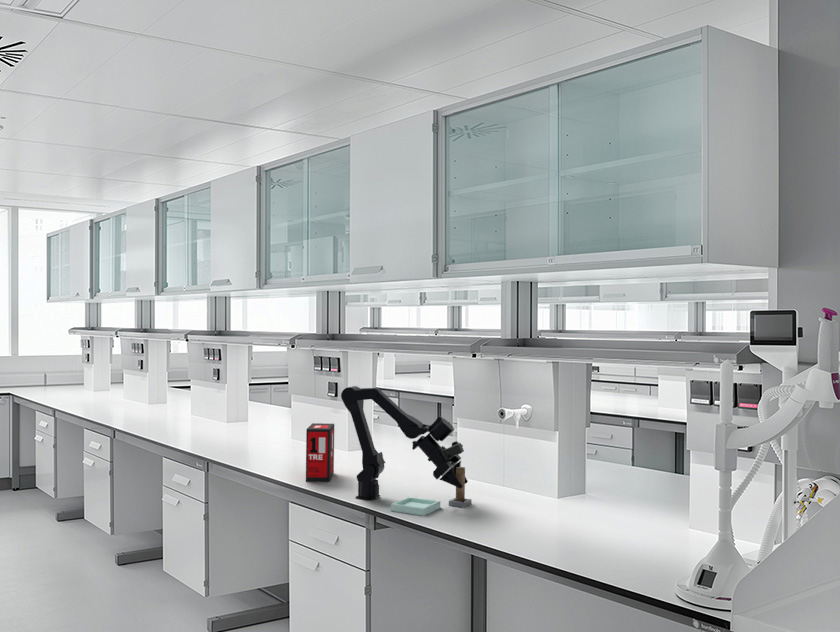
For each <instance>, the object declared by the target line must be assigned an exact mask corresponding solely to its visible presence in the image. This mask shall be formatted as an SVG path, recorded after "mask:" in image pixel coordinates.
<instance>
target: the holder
mask: <svg viewBox="0 0 840 632" xmlns="http://www.w3.org/2000/svg"><path fill="white" fill-rule="evenodd" d="M470 505H472V499H471V498H465V501H464V502H460V501H456V497H453V498H451V499H449V500H448V506H449V507H456V508H463V509H465V508H467V507H469V506H470Z"/></svg>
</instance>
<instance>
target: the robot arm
mask: <svg viewBox="0 0 840 632" xmlns="http://www.w3.org/2000/svg"><path fill="white" fill-rule="evenodd" d="M340 394H341V395H340V398H341V401H342V402H343V405H344V407H345V408H346V409H347V411H348V412H349V413H350V415H351V419H352V422H353V425H354V428H355V432H356V436H357V438H358V442H359V446H360V449H361V452H362V453H361V454H362V455H361V456H362V457H361V458H362V460H361V465H362V469H361V471H360V472H359V473H357V475H356V480H357V482H358V483H357V495H356V496H355V499H361V500H368V501H372V500H375V499H378V498H380V497H381V494H380V484H379V480H378V478H379V476H380V474H382V473H383V472H384V470H385V464H386V460H385V459H384V454H383V452H382V451H381V452H378V451H377V450H376V447H375V445H374V442H373V438H372V434H371V431H370V428H369V424H368V421H367V418H366V415H365V411H364V401H366V400H372V401H373V402H375V403H376V405H377V406H379V407H380V409H382V410H383V411H384V412H385V413H386V414H387V415H388V416H389V417H390V418H391V419H392V420H394V421H395V422H396V423H397V425H398V428H399V429H400V431H401V432H402V433H403V435H404V436H405V437H406V438H408V439H410V440H412V439H413V441H412V442H411V443H412V449H411V450H415V449H417V448H419V449H420V450H421V451H422V452H423V454H425V456H426V457H427V461H428V462H431V463H432V464H433V465H434V466H435V467H436V468H435V469H434V470H433V471H432V472H433V473H432V476H433V478H435V479H436V480H439V481H442V482H444V483H447V484H450V485H452V486H454V487H455V488H456V487H458V488H460V489H461V488H462V487H463V486H462V484H461V482H460V481H459V479H458V478H457V477H456V467H462V466H461V464H462V457H461V456H460V454H462V453H464V452H465V450H464V448H463V446H464V445H463V444H462V443H461V442H459V441H458V440H455V441H453V442H452V443H451V446H449V447H446V446H444V445H442V446H441V445H440V444H439V443H438V442H439V441H440V442H443V441H444V440H445V439H446V438H447V437H449V435H451V434H452V433H453V432H454V431H455V427H454V426H453V425H452V424H451V423H450V422H449V421H448V420H447V419H445V418H443V417H442V416H441V415H440V416H438V417H437V418H436V420H434V422H432V424H431V425H429V424H425V423H423V422H421V420H419V419H417V418H415V417H414V416H412V415H410V414H408V413H406V411H404V410H403V409H402V408H400V406H398V404H396V403H395V401H393V400H392V399H391V398H389V396H388V395H387V394H385V393H384V391H383V390H382V389H381V388H379V387H377V386H375V387H367V388H365V387H363V388H361V387H359V386H357V385H353V386H349V387H345V388H344V389H343V390H342V392H341V393H340ZM425 434H426V435H425ZM424 435H425V436H424ZM418 437H419V438H418ZM416 438H418V439H417V440H414V439H416ZM468 482H469V481H468V479H467V478H466V476H465V485H466V484H467V483H468Z"/></svg>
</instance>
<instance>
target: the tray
mask: <svg viewBox="0 0 840 632" xmlns="http://www.w3.org/2000/svg"><path fill="white" fill-rule="evenodd" d="M439 509H441V500H436V499H435V500H434V499H428V498H419V497H413V496H407V497H405V498H402V499H400V500H397V501H395V502H392V503H391V504H390V512H397V513H401V514H402V513H404V514H410V515H416V516H423V517H424V516H426V515H428V514H430V513H432V512H434V511H436V510H439Z"/></svg>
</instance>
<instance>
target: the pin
mask: <svg viewBox="0 0 840 632" xmlns="http://www.w3.org/2000/svg"><path fill="white" fill-rule="evenodd" d="M456 477H457V478H458V479H459V481H460V482H461V484H462V486H463V487H462V488H461V489H460V488H458V487H456V486H455V498H456V501H460V502H464V501H465V499H466V495H465V494H466V493H465V492H466V490H465V489H466V488H465V487H466V484H465V477H466V467H465V466H461V467H456Z"/></svg>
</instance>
